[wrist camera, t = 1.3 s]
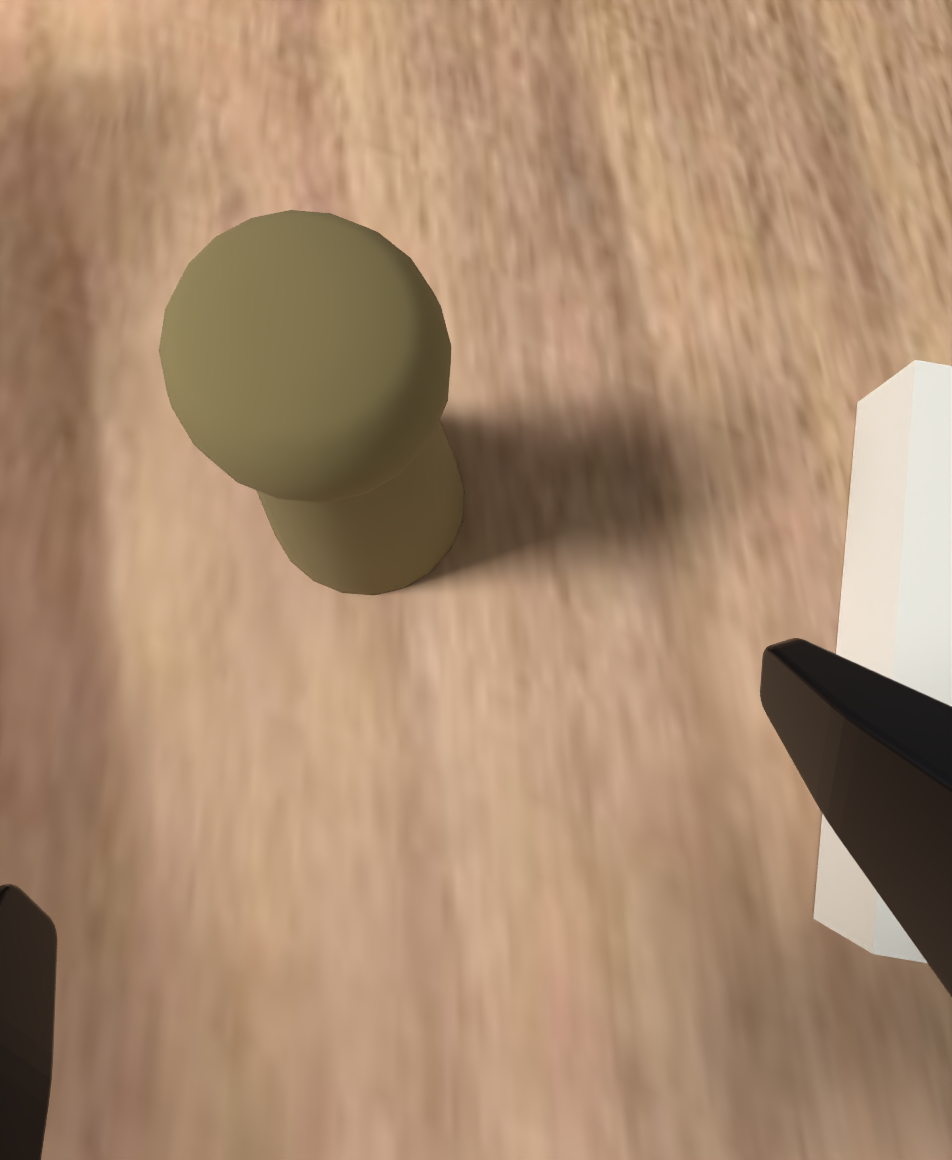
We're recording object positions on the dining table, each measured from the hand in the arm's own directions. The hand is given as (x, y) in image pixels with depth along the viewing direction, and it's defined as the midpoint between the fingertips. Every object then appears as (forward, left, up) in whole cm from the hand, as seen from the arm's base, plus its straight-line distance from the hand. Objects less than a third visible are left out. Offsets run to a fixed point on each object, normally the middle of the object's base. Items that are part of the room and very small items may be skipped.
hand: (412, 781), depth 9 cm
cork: (+7, +3, -13) cm, 15 cm away
